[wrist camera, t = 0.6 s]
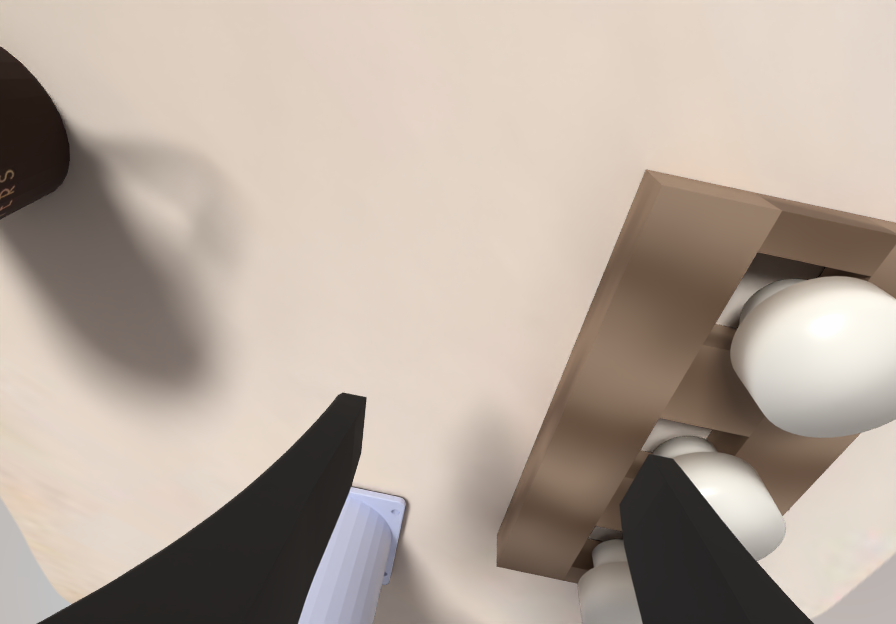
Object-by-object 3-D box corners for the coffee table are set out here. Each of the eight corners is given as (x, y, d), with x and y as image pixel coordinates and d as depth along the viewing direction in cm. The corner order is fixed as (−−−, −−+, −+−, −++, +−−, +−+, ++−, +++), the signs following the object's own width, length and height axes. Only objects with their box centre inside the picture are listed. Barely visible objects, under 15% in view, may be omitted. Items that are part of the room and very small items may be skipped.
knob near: (807, 376, 18) (872, 450, 15) (688, 350, 18) (727, 420, 15) (891, 268, 15) (992, 330, 12) (752, 239, 15) (817, 293, 12)
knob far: (643, 586, 26) (662, 663, 23) (562, 569, 26) (570, 643, 23) (680, 538, 24) (707, 617, 21) (590, 519, 24) (603, 595, 21)
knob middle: (709, 501, 22) (744, 580, 19) (613, 480, 22) (631, 556, 19) (763, 432, 20) (813, 510, 16) (654, 409, 20) (683, 483, 16)
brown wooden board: (684, 574, 29) (695, 608, 27) (497, 534, 29) (496, 566, 27) (969, 238, 17) (1021, 261, 15) (646, 169, 17) (662, 184, 15)
